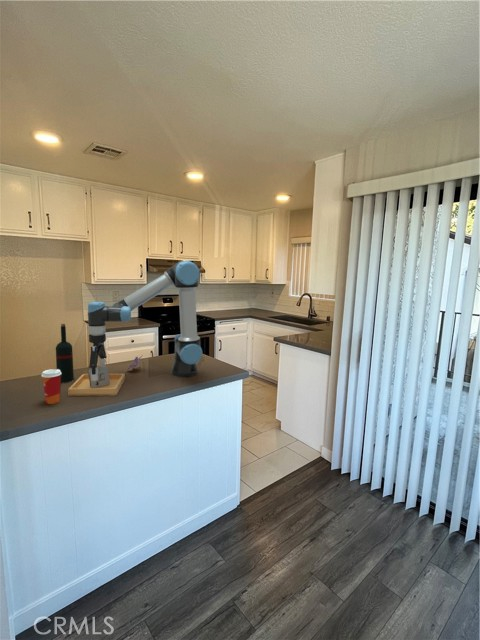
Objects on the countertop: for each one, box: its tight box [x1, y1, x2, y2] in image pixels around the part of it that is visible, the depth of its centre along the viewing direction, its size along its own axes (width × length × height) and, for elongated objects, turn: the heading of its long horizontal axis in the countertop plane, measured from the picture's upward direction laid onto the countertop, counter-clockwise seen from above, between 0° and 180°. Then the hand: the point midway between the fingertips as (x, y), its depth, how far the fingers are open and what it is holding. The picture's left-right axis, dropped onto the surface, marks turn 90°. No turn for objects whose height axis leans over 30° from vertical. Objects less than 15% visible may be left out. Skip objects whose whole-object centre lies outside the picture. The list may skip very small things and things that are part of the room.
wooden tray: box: [67, 373, 126, 397], centre depth 159 cm, size 21×21×4 cm
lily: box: [125, 355, 143, 372], centre depth 186 cm, size 12×12×10 cm
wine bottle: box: [55, 323, 75, 384], centre depth 166 cm, size 8×10×30 cm
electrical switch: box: [87, 366, 110, 388], centre depth 159 cm, size 9×5×9 cm, turn 140°
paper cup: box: [40, 368, 62, 405], centre depth 141 cm, size 8×8×14 cm
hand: (98, 375), depth 159 cm, fingers open, 13 cm apart
